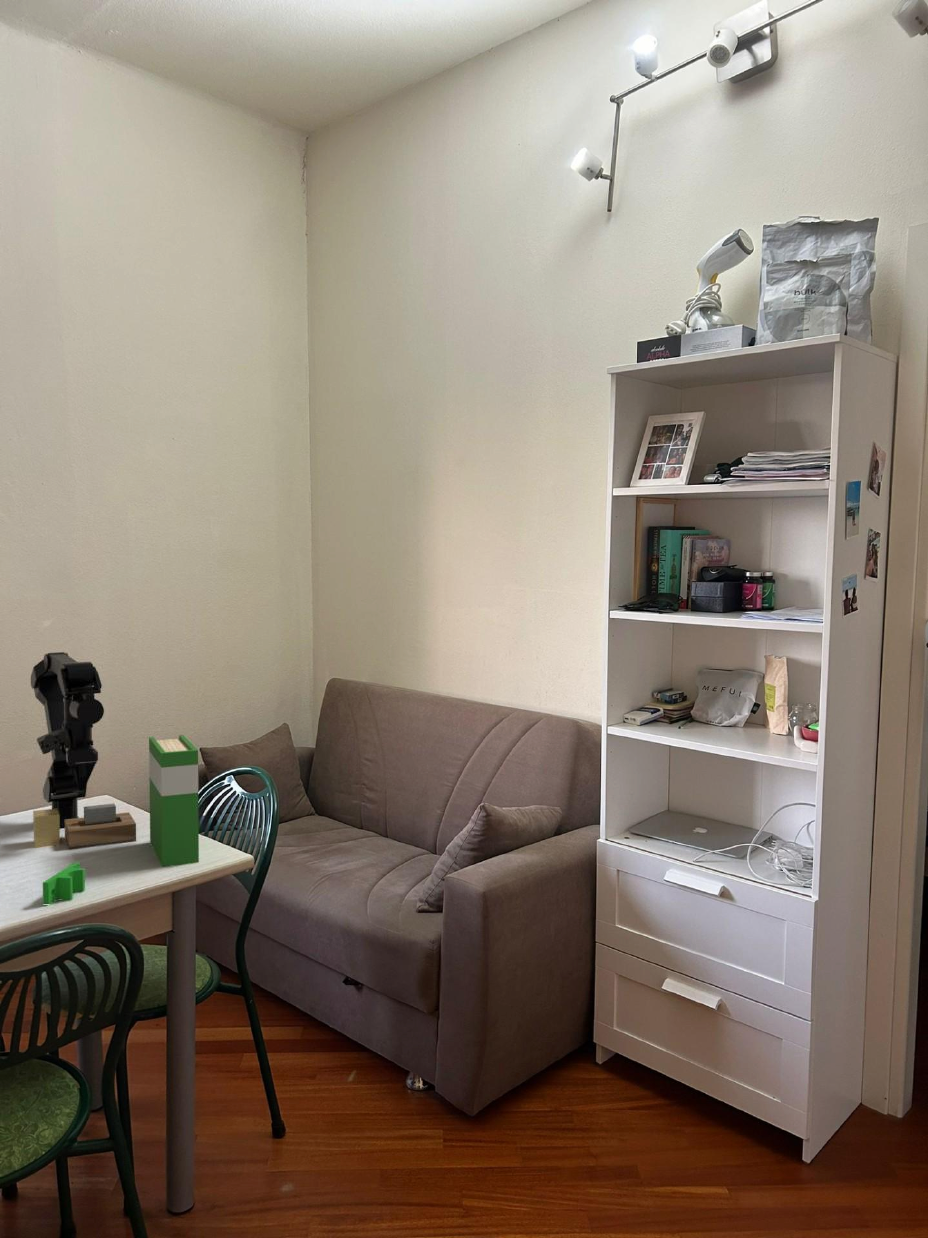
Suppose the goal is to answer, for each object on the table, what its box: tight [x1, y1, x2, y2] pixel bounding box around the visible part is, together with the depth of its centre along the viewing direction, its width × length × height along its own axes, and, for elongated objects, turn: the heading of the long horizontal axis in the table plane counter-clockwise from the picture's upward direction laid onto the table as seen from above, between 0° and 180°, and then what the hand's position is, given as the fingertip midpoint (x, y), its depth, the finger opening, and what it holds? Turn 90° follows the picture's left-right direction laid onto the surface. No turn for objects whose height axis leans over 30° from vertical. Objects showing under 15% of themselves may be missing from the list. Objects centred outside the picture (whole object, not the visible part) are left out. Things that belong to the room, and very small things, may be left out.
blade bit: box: [83, 802, 117, 826], centre depth 212 cm, size 2×6×7 cm, turn 118°
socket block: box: [64, 811, 137, 850], centre depth 212 cm, size 10×14×4 cm
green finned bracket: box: [42, 862, 86, 905], centre depth 178 cm, size 11×4×5 cm, turn 174°
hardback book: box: [148, 734, 200, 868], centre depth 203 cm, size 18×7×24 cm, turn 26°
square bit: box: [32, 808, 61, 849], centre depth 208 cm, size 5×5×7 cm
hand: (79, 785), depth 212 cm, fingers open, 9 cm apart
